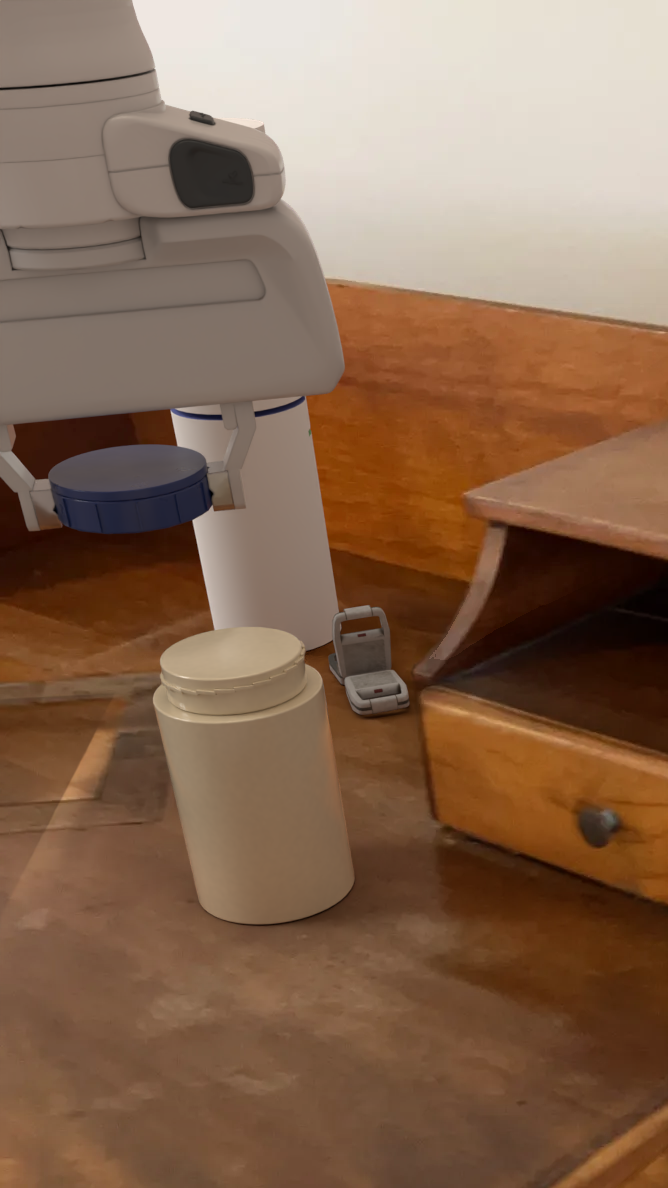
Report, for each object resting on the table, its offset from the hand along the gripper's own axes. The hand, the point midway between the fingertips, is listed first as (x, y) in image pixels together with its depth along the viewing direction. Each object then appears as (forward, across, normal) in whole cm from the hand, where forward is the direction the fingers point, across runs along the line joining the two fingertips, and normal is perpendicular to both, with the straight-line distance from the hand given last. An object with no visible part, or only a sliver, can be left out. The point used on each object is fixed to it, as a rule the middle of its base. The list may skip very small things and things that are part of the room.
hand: (140, 516), depth 77 cm
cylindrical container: (+12, +5, +17) cm, 22 cm away
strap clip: (+12, +9, +8) cm, 17 cm away
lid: (-2, 0, 0) cm, 2 cm away
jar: (+12, +3, -14) cm, 19 cm away
